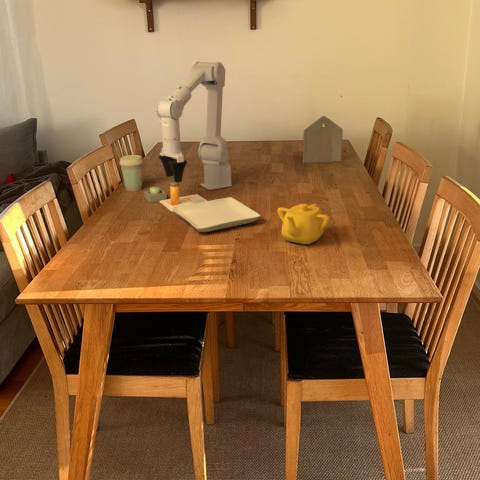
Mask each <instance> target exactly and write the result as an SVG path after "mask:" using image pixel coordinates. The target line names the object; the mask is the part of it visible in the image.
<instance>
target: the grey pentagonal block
mask: <svg viewBox="0 0 480 480" xmlns="http://www.w3.org/2000/svg"><path fill="white" fill-rule="evenodd" d="M343 131H344V130H343V128H342V127H341V126H339V125H338V124H337V123H335V122H334V121H332V120H331V119H330V118H328V117H327V116H326V115H322V116H321V117H319V118H318V119H317V120H315V121H314V122H313V123H312V124H309V126H307V127H306V128H305V129H303V137H302V138H303V141H302V142H303V143H302V146H303V147H302V148H303V149H302V163H303V164H311V163H312V164H313V163H315V162H319V163H334V162H333V161H341V162H342V156H343V154H342V153H343V133H344V132H343Z"/></svg>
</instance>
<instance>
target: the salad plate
mask: <svg viewBox="0 0 480 480" xmlns="http://www.w3.org/2000/svg"><path fill="white" fill-rule="evenodd" d="M173 211H174V212H173V213H174V214H176V215H177V216H179V218H182V220H184V221H186V222H187V223H188V224H189V225H191V226H192V227H193V228H194V229H195V230H197V231H198V232H200V233H208V232H213V231H214V230H215V231H219V229H220V230H224V228H225V229H228V228H233V226H234V227H238V225H239V226H242V224H243V225H247V224H250V223H253V222H255V221H257V220H259V218H260V217H261V215H260V214H259V212H256V211H255V210H254V209H251V208H250V207H248V206H247V205H245V204H244V203H242V202H241V201H238V200H237V199H235V198H234V197H232V196H230V197H224V198H218V199H212V200H207V201H206V202H201V203H196V204H191V205H186V206H181V207H176V208H173Z"/></svg>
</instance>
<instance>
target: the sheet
mask: <svg viewBox="0 0 480 480" xmlns="http://www.w3.org/2000/svg"><path fill="white" fill-rule="evenodd" d="M206 201H208V200H207V199H205V198H204V197H202V196H201V195H199V193H198V194H197V193H196V194H190V195H186V196H184V195H183V196H180V204H179V205H171V198H168V199H167V200H161V201H159V203H160V204H161V205H163V206H164V207H165V208H167V209H168V210H169V211H170V212H172V213H175V212H174V211H173V208H176V207H181V206H186V205H191V204H196V203H201V202H206Z"/></svg>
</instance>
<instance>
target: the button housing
mask: <svg viewBox="0 0 480 480" xmlns="http://www.w3.org/2000/svg"><path fill="white" fill-rule="evenodd" d="M143 195H144V199H145V200H147V202H148V203H156V202H160V201H161V200H167V198H168V196H167V192H165V191H164V190H163V189H161V188H160V193H159V194H153V195H151V194H150V189H149V190H143Z"/></svg>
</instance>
